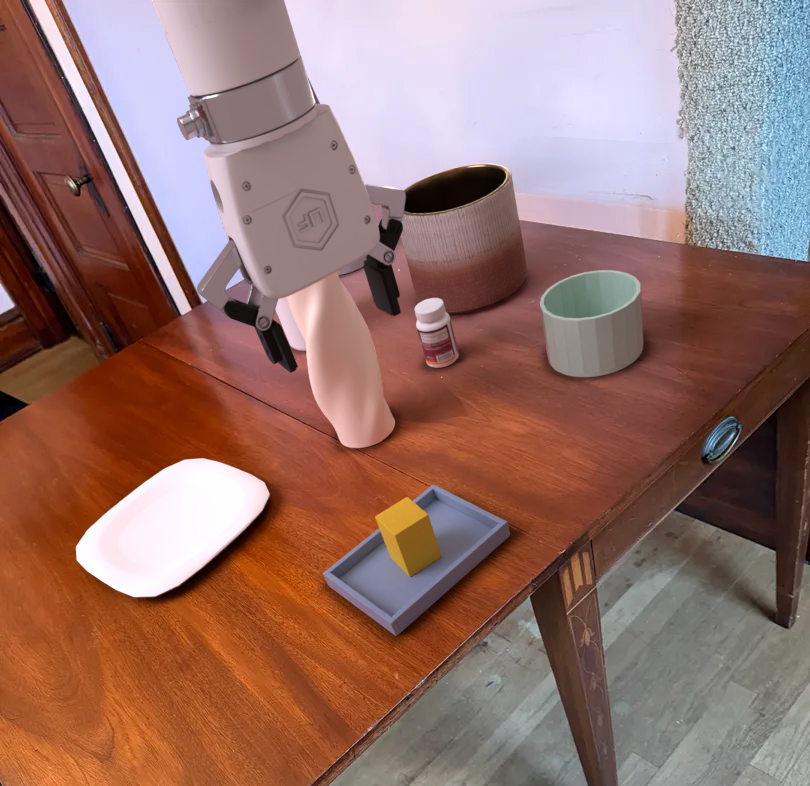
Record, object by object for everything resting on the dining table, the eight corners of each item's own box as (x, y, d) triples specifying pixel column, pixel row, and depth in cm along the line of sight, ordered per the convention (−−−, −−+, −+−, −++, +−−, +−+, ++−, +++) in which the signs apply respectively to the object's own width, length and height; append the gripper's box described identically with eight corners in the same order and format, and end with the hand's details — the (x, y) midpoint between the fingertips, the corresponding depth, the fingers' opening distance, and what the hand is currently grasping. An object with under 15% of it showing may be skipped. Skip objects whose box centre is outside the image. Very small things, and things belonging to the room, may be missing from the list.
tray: (437, 497, 84) (433, 483, 83) (510, 535, 77) (507, 521, 75) (328, 586, 78) (322, 573, 77) (396, 636, 71) (390, 623, 70)
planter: (512, 251, 124) (496, 152, 114) (542, 294, 111) (526, 187, 100) (410, 284, 125) (385, 188, 115) (427, 331, 112) (400, 228, 102)
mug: (332, 351, 116) (309, 289, 109) (279, 352, 120) (254, 293, 113) (364, 308, 123) (345, 249, 116) (313, 311, 128) (292, 254, 121)
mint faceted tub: (643, 321, 99) (641, 264, 93) (643, 372, 91) (640, 312, 85) (552, 332, 103) (544, 277, 97) (544, 381, 95) (535, 325, 89)
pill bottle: (434, 349, 108) (420, 296, 102) (464, 350, 105) (451, 295, 100) (420, 368, 105) (405, 314, 99) (451, 369, 103) (437, 314, 97)
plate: (63, 559, 94) (56, 550, 93) (191, 457, 104) (186, 447, 103) (157, 621, 81) (150, 611, 80) (293, 497, 91) (288, 487, 90)
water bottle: (314, 436, 100) (227, 231, 81) (363, 400, 103) (290, 195, 84) (362, 460, 93) (279, 242, 74) (412, 420, 96) (345, 203, 78)
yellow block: (421, 537, 79) (407, 496, 75) (442, 556, 76) (428, 514, 72) (390, 557, 78) (374, 516, 74) (410, 577, 75) (394, 535, 71)
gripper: (152, 167, 44) (263, 406, 55) (394, 59, 48) (451, 302, 59) (122, 152, 49) (228, 372, 61) (342, 56, 53) (403, 279, 65)
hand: (338, 337), depth 60 cm, fingers open, 9 cm apart
